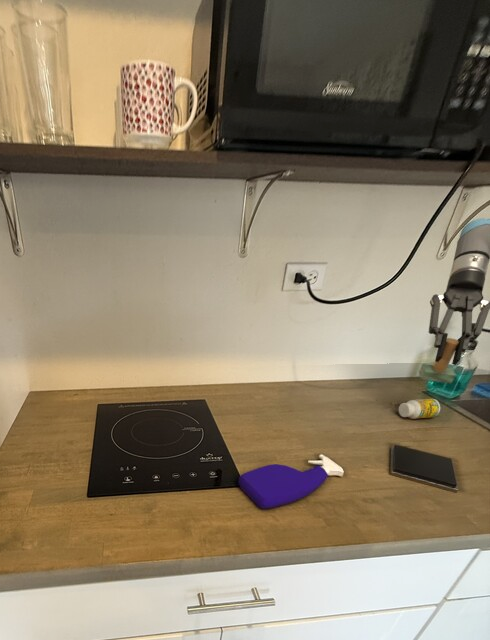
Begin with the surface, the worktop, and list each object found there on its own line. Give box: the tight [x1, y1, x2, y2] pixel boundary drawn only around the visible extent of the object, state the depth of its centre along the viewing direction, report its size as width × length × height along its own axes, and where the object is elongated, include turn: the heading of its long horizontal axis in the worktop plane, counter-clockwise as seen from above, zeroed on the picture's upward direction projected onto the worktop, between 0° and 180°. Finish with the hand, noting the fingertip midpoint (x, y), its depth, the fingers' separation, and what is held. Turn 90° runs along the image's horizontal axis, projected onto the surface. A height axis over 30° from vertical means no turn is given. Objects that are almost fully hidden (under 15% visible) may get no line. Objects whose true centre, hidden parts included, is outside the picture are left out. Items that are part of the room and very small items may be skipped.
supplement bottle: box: [398, 398, 441, 420], centre depth 110 cm, size 5×5×10 cm
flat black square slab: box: [389, 444, 459, 494], centre depth 90 cm, size 13×12×2 cm
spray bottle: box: [238, 453, 344, 510], centre depth 84 cm, size 3×11×24 cm
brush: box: [418, 337, 459, 384], centre depth 99 cm, size 7×4×10 cm, turn 70°
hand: (447, 360), depth 95 cm, fingers closed on brush, 3 cm apart
